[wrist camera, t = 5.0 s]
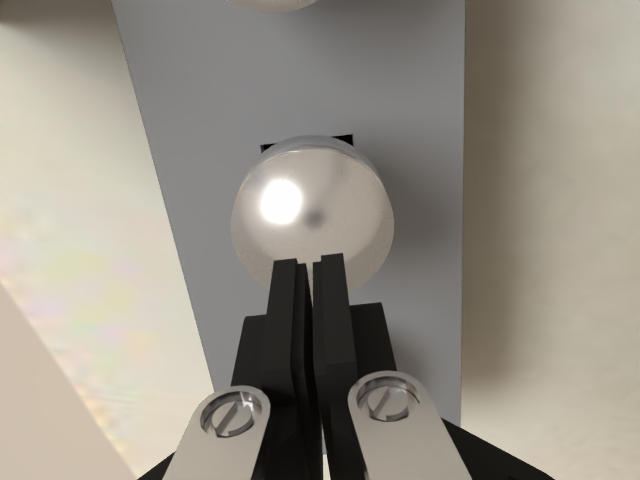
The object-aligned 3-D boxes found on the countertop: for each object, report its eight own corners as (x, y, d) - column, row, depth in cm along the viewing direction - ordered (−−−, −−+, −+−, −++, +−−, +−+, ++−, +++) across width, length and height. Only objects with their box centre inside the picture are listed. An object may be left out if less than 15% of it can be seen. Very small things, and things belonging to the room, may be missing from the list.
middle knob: (366, 98, 21) (390, 142, 15) (374, 212, 24) (397, 291, 17) (243, 112, 21) (215, 162, 15) (263, 224, 24) (246, 308, 17)
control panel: (423, -269, 19) (469, -374, 13) (434, 365, 32) (460, 441, 27) (107, -224, 19) (29, -308, 14) (246, 384, 32) (233, 462, 27)
